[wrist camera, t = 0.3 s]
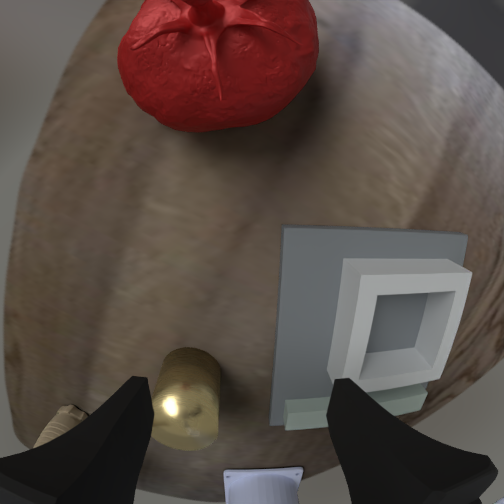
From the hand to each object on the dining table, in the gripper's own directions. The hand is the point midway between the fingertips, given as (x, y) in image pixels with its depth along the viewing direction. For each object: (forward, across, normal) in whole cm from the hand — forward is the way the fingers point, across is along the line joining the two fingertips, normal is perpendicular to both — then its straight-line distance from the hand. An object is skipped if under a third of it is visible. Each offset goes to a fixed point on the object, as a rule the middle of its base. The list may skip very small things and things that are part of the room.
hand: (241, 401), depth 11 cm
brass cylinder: (+10, +3, +6) cm, 12 cm away
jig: (+10, -10, +3) cm, 14 cm away
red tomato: (+10, +2, -15) cm, 18 cm away
